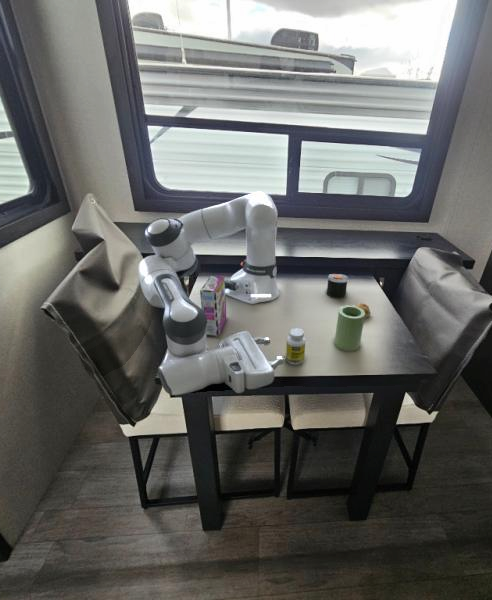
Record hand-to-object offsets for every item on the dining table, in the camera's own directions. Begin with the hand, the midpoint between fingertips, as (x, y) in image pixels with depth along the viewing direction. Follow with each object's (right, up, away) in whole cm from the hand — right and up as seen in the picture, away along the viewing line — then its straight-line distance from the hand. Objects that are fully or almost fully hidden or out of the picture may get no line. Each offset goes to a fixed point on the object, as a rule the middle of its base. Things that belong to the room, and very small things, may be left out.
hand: (276, 349), depth 88 cm
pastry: (+28, +8, +30) cm, 42 cm away
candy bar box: (-22, +5, +18) cm, 29 cm away
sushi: (+21, +17, +45) cm, 52 cm away
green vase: (+22, 0, +14) cm, 26 cm away
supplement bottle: (+5, -4, +6) cm, 8 cm away
